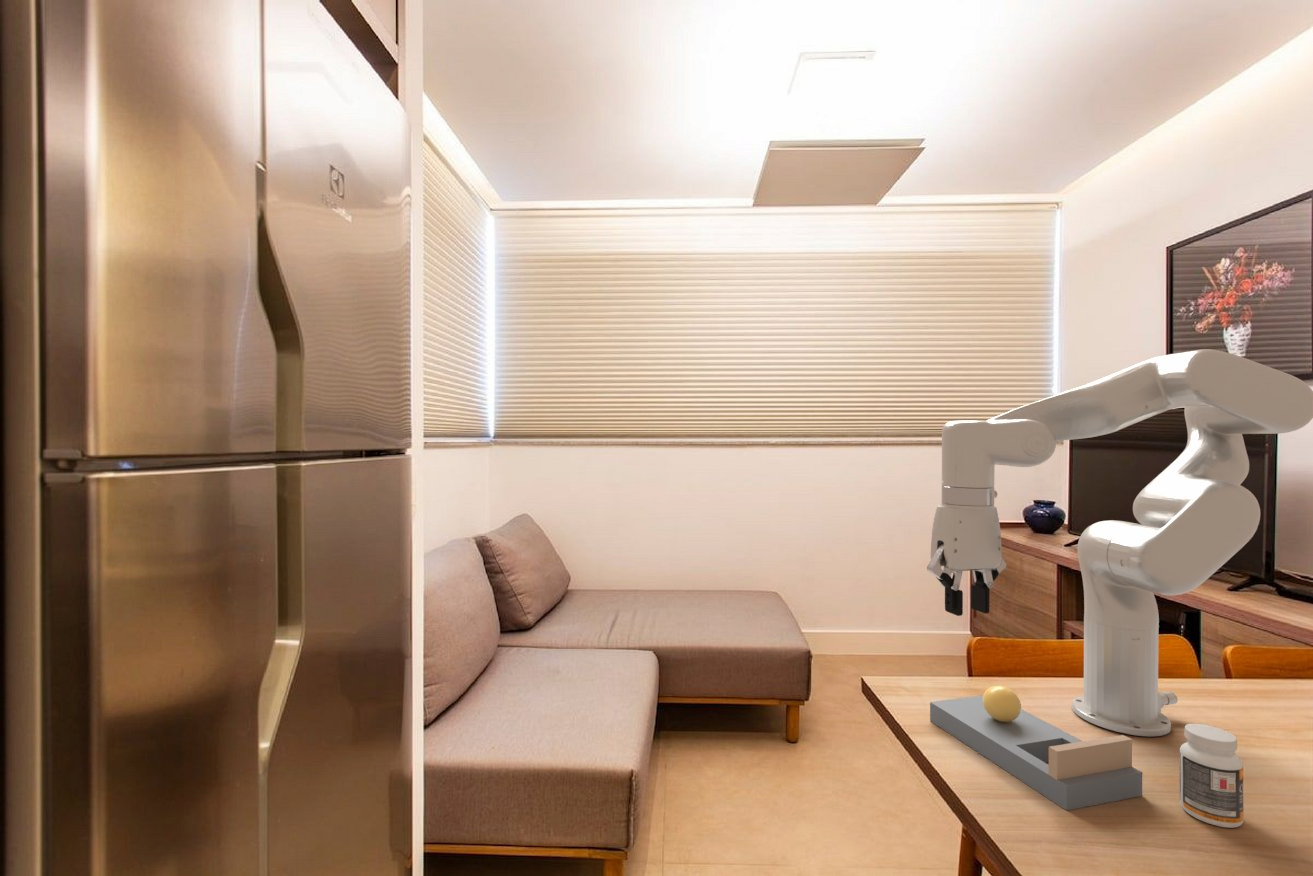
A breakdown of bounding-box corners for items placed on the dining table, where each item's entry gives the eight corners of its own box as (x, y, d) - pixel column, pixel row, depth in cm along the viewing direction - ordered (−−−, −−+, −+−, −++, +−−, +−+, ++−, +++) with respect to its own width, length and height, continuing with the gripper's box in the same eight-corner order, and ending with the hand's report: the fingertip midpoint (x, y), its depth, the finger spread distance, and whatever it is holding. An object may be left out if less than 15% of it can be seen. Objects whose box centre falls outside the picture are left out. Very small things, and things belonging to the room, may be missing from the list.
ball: (1001, 711, 94) (1002, 678, 94) (1029, 726, 89) (1029, 691, 89) (974, 714, 93) (974, 682, 93) (1001, 730, 88) (1001, 695, 88)
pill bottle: (1256, 833, 70) (1257, 746, 70) (1198, 826, 71) (1199, 741, 71) (1221, 804, 76) (1222, 723, 76) (1168, 798, 77) (1168, 719, 77)
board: (992, 712, 100) (992, 672, 100) (1142, 795, 77) (1142, 744, 77) (930, 720, 97) (930, 680, 97) (1066, 810, 74) (1066, 757, 74)
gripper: (992, 494, 103) (992, 602, 104) (906, 496, 99) (906, 609, 99) (1030, 499, 96) (1029, 615, 96) (939, 501, 92) (938, 623, 92)
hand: (966, 611), depth 98 cm, fingers open, 4 cm apart
